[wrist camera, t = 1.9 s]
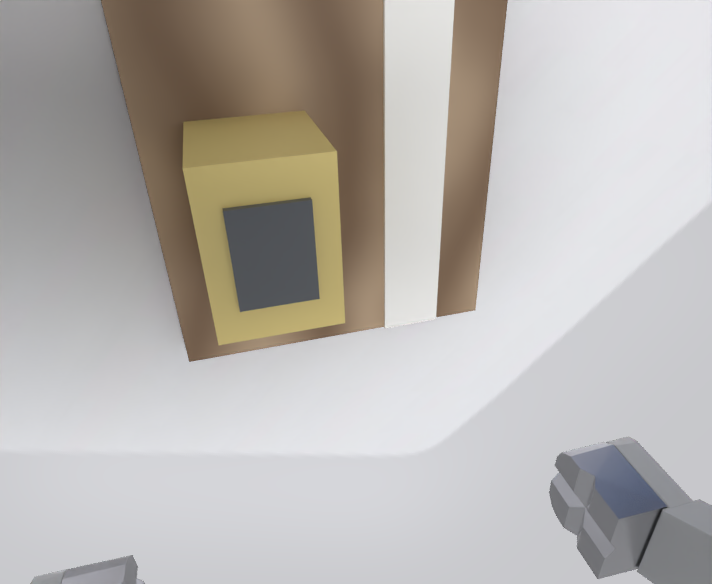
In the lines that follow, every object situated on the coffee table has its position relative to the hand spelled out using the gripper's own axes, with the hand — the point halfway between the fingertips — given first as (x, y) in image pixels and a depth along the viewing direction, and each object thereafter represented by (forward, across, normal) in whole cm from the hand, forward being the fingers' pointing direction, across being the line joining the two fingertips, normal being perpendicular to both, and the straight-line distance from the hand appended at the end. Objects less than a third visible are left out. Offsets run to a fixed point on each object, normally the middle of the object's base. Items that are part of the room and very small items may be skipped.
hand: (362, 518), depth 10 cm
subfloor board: (+19, -3, 0) cm, 19 cm away
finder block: (+17, 0, 0) cm, 17 cm away
